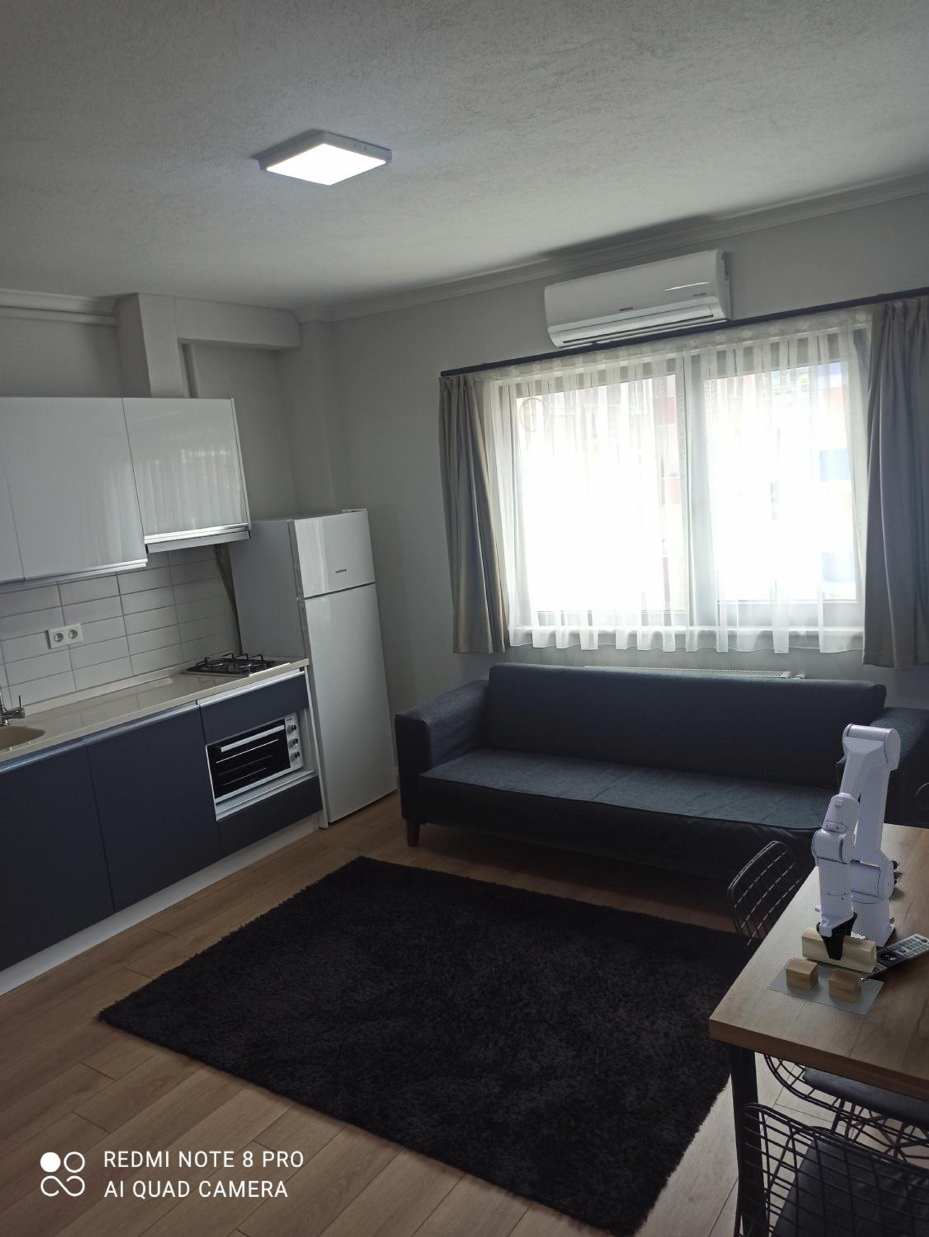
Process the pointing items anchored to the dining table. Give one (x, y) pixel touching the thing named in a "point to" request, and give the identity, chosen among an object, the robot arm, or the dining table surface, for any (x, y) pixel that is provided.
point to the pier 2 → (844, 985)
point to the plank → (853, 955)
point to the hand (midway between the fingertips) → (838, 953)
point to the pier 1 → (802, 974)
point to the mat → (822, 991)
